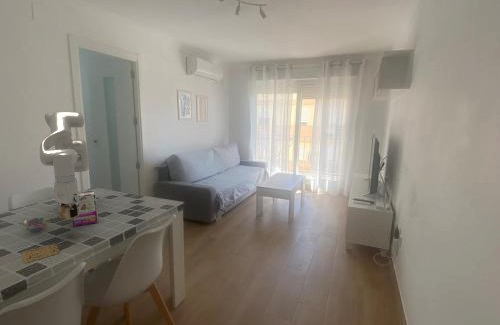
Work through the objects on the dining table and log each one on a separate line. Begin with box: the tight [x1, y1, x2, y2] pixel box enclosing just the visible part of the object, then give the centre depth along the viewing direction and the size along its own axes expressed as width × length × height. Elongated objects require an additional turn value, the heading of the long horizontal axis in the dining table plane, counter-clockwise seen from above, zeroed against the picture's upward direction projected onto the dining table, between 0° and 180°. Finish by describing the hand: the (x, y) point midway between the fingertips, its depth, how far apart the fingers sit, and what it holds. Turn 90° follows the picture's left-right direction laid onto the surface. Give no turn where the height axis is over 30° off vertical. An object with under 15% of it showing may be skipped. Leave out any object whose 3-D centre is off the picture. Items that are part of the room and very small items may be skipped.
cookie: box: [20, 242, 61, 265], centre depth 107 cm, size 12×12×1 cm
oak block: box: [57, 204, 79, 221], centre depth 120 cm, size 6×6×6 cm
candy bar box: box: [71, 191, 99, 227], centre depth 136 cm, size 11×5×16 cm, turn 117°
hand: (69, 215), depth 121 cm, fingers closed on oak block, 5 cm apart
